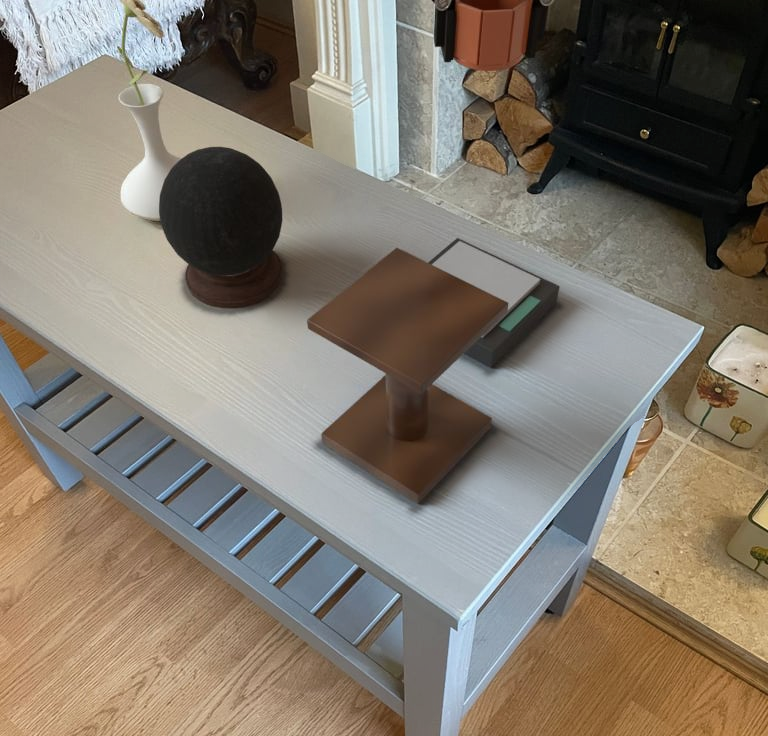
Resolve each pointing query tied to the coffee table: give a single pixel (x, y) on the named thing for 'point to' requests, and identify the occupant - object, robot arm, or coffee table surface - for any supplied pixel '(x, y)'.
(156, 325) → the coffee table surface
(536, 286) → the scale
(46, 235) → the coffee table surface
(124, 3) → the flower in vase
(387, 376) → the stand
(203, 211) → the black orb ornament
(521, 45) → the bowl
